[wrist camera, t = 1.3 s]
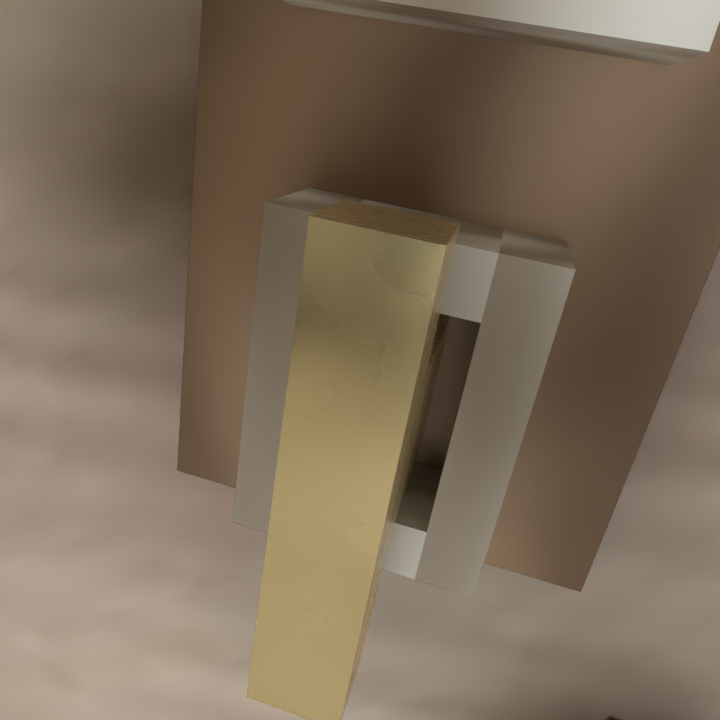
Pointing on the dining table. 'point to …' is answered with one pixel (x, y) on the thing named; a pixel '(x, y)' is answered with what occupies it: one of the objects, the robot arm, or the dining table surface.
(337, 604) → the gold rectangular bar
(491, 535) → the board
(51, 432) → the dining table surface
